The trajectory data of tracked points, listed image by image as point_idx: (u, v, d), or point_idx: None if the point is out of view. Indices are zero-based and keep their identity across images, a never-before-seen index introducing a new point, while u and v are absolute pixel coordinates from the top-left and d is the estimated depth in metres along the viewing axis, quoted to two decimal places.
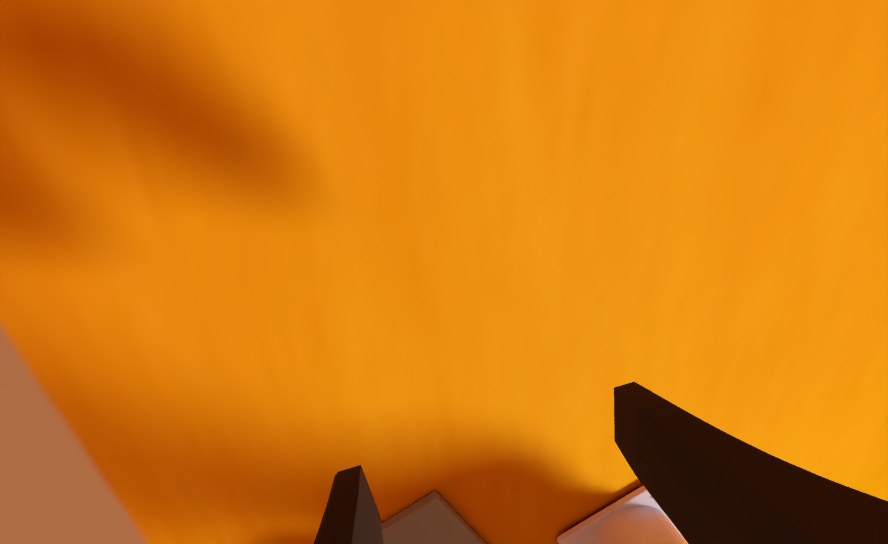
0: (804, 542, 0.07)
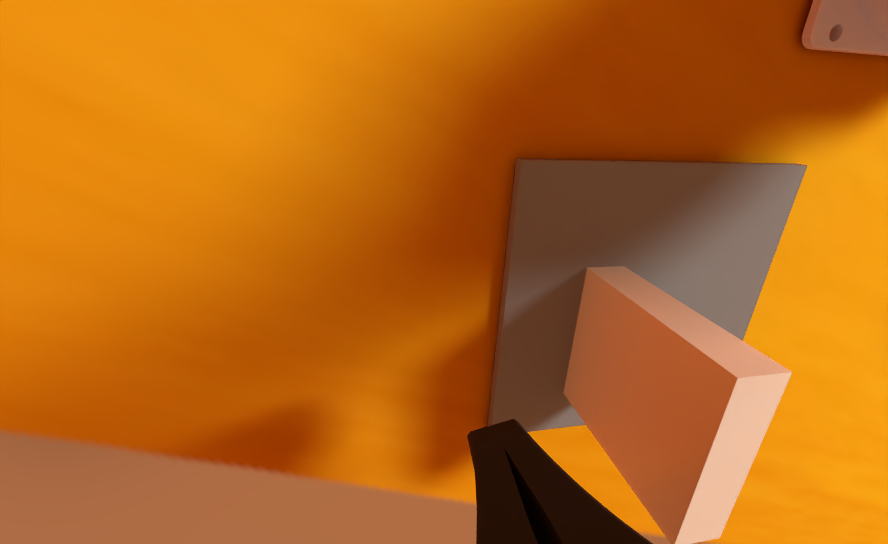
0: None
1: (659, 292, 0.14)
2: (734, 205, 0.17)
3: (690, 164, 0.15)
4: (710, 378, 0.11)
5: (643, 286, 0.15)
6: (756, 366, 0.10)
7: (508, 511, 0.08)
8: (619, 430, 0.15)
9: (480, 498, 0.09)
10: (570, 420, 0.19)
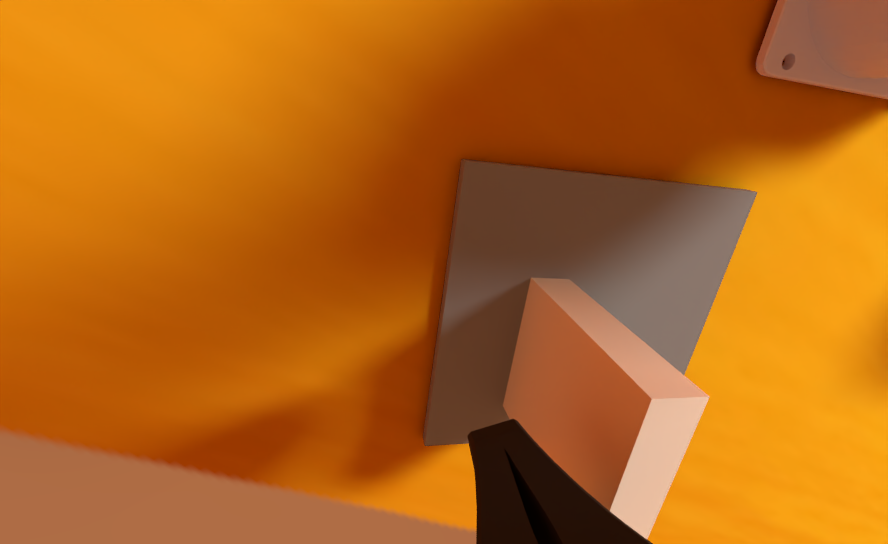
0: None
1: (597, 307, 0.14)
2: (683, 225, 0.16)
3: (640, 180, 0.15)
4: (628, 397, 0.10)
5: (582, 300, 0.14)
6: (674, 388, 0.10)
7: (508, 511, 0.08)
8: (547, 447, 0.14)
9: (480, 498, 0.09)
10: None
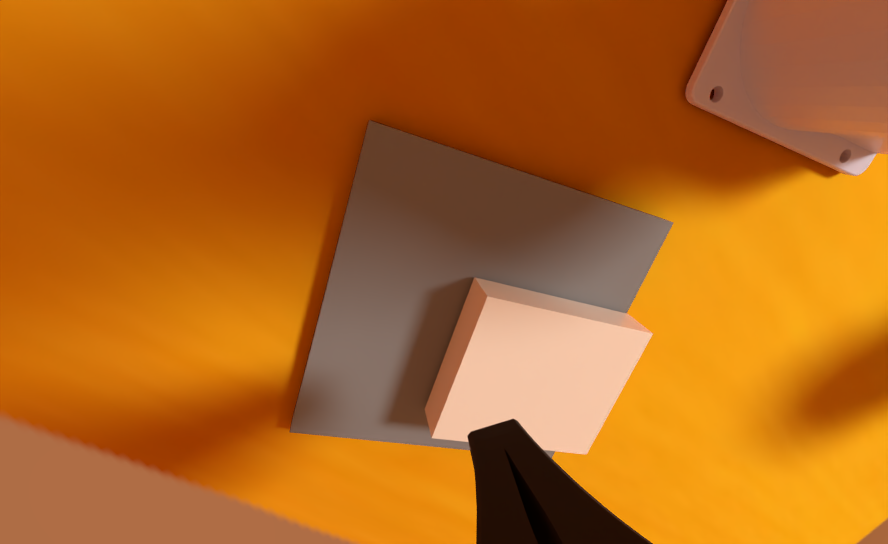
0: None
1: (533, 293, 0.16)
2: (596, 242, 0.16)
3: (556, 184, 0.15)
4: (633, 341, 0.16)
5: (523, 293, 0.15)
6: (632, 320, 0.17)
7: (508, 511, 0.08)
8: (533, 419, 0.16)
9: (480, 498, 0.09)
10: (387, 435, 0.17)
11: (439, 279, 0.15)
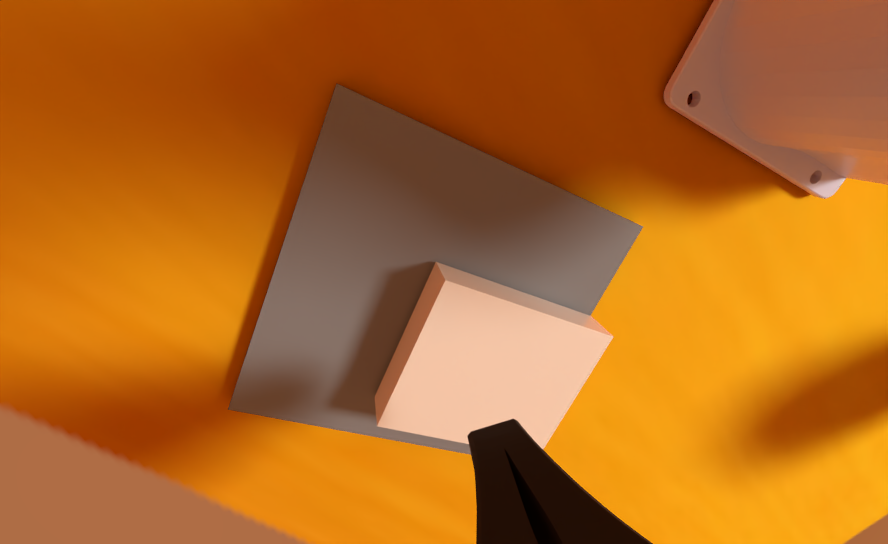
0: None
1: (495, 284, 0.15)
2: (563, 238, 0.15)
3: (526, 173, 0.14)
4: (593, 343, 0.15)
5: (485, 283, 0.15)
6: (594, 322, 0.16)
7: (508, 511, 0.08)
8: (484, 416, 0.16)
9: (480, 498, 0.09)
10: (333, 421, 0.17)
11: (399, 260, 0.14)
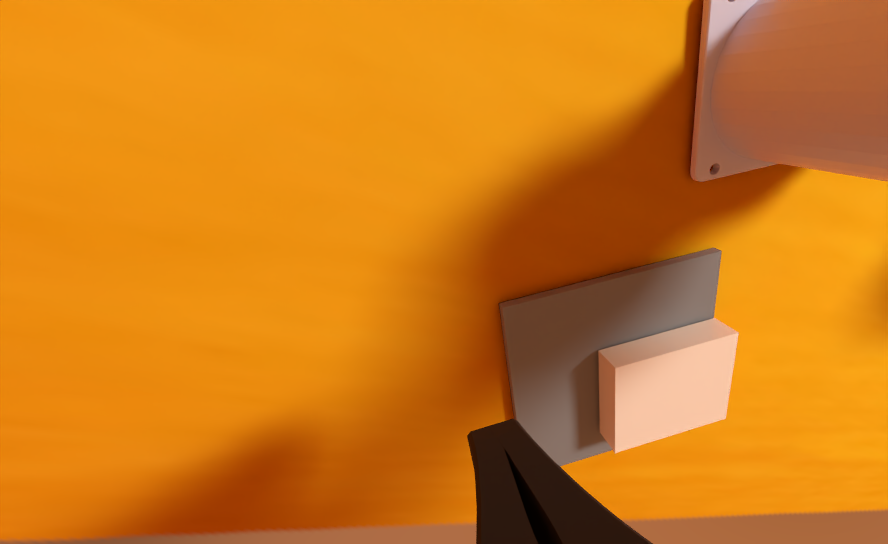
0: None
1: (641, 341, 0.23)
2: (670, 290, 0.22)
3: (627, 276, 0.21)
4: (726, 343, 0.22)
5: (635, 346, 0.22)
6: (719, 325, 0.23)
7: (508, 511, 0.08)
8: (677, 416, 0.23)
9: (480, 498, 0.09)
10: (582, 454, 0.26)
11: (576, 361, 0.23)
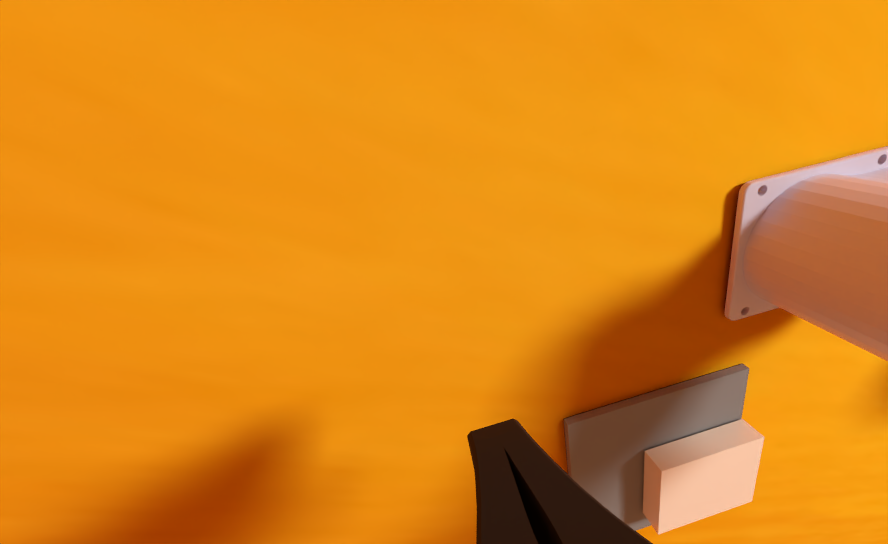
0: None
1: (680, 442, 0.27)
2: (705, 401, 0.26)
3: (670, 393, 0.25)
4: (754, 445, 0.26)
5: (676, 447, 0.26)
6: (747, 428, 0.27)
7: (508, 511, 0.08)
8: (711, 502, 0.27)
9: (480, 498, 0.09)
10: None
11: (626, 459, 0.27)
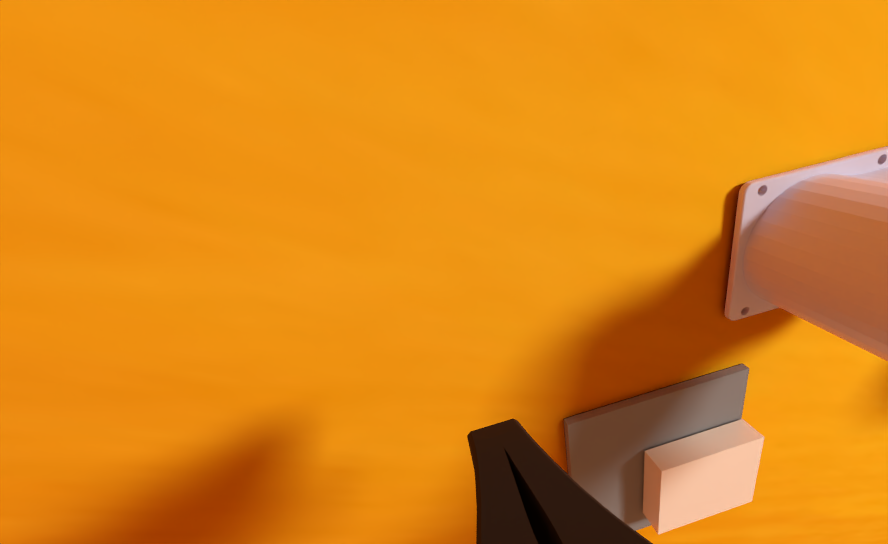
0: None
1: (680, 442, 0.27)
2: (705, 401, 0.26)
3: (670, 393, 0.25)
4: (754, 445, 0.26)
5: (676, 447, 0.26)
6: (747, 428, 0.27)
7: (508, 511, 0.08)
8: (711, 502, 0.27)
9: (480, 498, 0.09)
10: None
11: (626, 459, 0.27)
